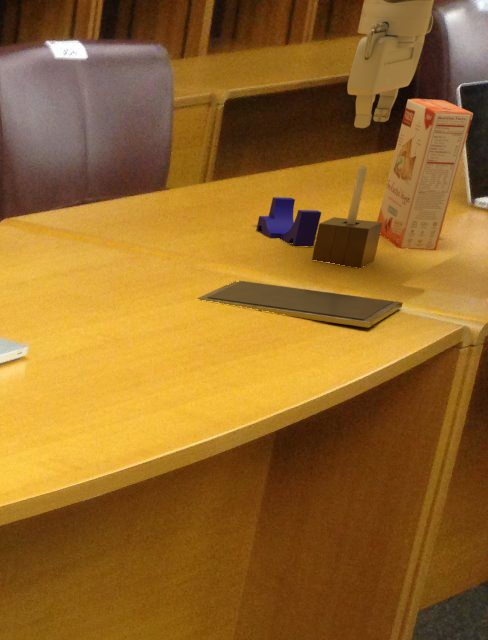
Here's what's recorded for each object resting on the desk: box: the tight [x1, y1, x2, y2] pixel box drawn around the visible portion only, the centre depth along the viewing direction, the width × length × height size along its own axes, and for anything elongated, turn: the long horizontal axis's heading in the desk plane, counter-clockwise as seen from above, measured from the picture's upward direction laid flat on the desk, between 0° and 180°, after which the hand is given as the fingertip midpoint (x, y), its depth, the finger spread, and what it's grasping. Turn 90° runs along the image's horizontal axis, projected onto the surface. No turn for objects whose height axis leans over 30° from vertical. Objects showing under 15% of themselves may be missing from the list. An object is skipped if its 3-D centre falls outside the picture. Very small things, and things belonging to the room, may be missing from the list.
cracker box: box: [376, 98, 474, 251], centre depth 240 cm, size 14×6×21 cm, turn 170°
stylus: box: [346, 165, 368, 225], centre depth 227 cm, size 1×1×14 cm
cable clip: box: [256, 196, 322, 247], centre depth 243 cm, size 12×4×6 cm, turn 179°
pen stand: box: [311, 216, 382, 269], centre depth 229 cm, size 7×7×6 cm
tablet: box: [197, 280, 403, 329], centre depth 205 cm, size 22×15×1 cm
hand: (370, 124), depth 222 cm, fingers open, 8 cm apart
